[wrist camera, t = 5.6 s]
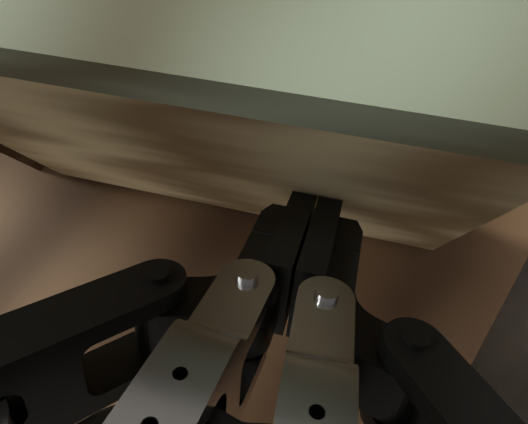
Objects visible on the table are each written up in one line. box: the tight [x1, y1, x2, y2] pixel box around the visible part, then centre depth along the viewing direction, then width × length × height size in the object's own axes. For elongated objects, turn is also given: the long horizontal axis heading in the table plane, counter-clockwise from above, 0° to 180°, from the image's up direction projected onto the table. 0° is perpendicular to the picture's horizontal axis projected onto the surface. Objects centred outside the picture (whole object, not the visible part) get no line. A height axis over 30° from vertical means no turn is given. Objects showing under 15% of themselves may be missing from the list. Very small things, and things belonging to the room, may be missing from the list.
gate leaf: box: [0, 0, 528, 250], centre depth 13 cm, size 17×2×12 cm, turn 77°
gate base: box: [0, 144, 528, 424], centre depth 12 cm, size 23×18×16 cm
